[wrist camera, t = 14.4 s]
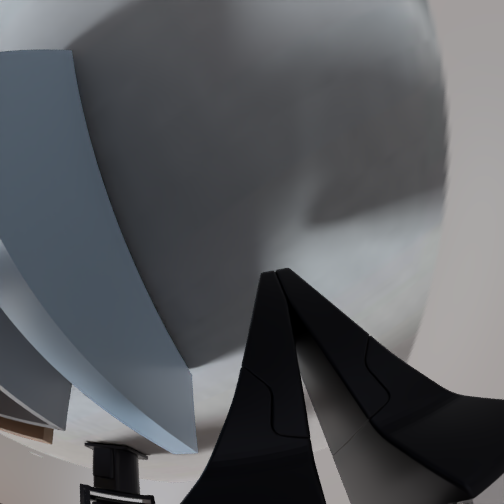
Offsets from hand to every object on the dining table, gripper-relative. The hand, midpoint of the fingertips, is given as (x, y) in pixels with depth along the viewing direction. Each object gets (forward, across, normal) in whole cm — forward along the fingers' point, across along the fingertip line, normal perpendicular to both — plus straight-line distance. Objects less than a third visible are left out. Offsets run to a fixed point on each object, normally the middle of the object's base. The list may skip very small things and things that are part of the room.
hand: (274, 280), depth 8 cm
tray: (+2, +14, 0) cm, 14 cm away
